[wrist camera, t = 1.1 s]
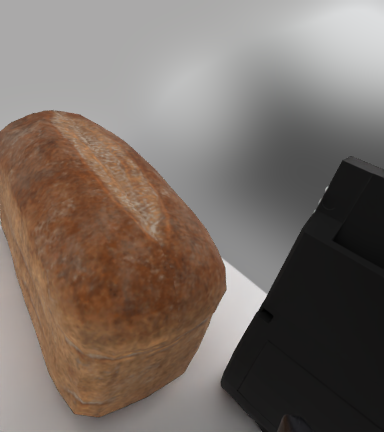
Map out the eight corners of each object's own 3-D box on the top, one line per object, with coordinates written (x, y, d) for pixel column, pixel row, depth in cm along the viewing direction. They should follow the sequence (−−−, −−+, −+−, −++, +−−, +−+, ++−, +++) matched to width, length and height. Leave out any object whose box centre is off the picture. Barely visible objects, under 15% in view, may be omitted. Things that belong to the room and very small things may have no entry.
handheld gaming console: (371, 480, 23) (642, 276, 13) (357, 547, 19) (714, 339, 9) (235, 362, 28) (350, 153, 18) (206, 398, 24) (326, 164, 14)
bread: (58, 467, 19) (76, 299, 11) (-13, 211, 36) (-23, 81, 29) (211, 380, 26) (280, 243, 19) (90, 202, 43) (102, 96, 36)
